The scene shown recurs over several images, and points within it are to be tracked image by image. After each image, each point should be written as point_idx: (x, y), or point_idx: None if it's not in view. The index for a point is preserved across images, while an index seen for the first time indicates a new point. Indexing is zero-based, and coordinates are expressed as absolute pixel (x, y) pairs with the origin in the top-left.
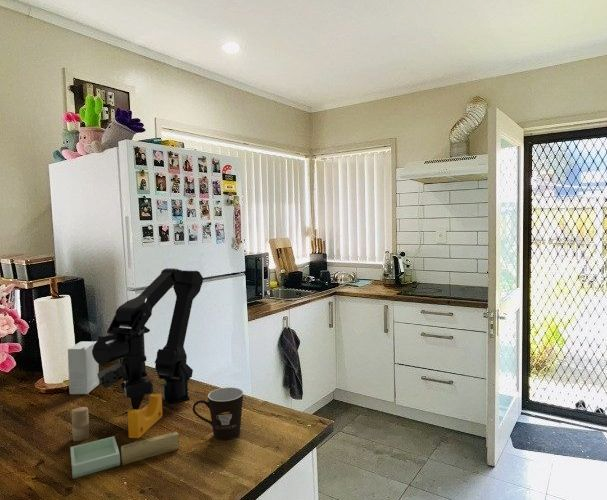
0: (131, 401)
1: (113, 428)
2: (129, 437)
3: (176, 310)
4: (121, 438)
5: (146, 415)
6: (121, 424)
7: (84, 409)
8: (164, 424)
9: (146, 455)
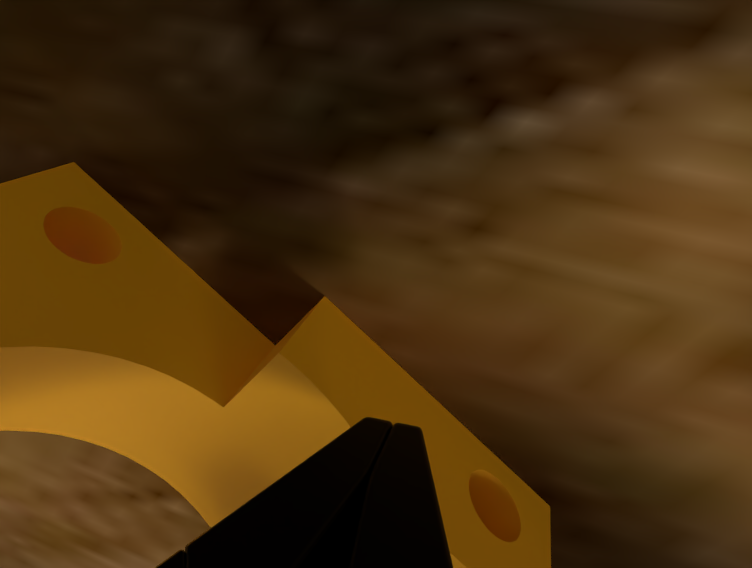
0: (181, 557)
1: (444, 37)
2: (67, 169)
3: None
4: (83, 81)
5: (260, 488)
6: (509, 175)
7: None
8: None
9: None
